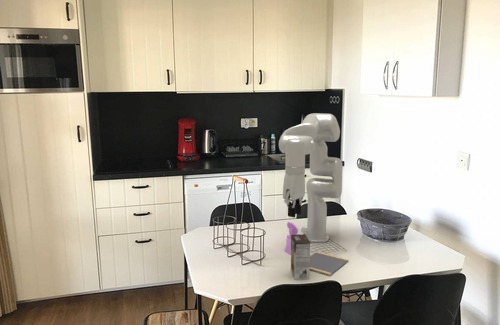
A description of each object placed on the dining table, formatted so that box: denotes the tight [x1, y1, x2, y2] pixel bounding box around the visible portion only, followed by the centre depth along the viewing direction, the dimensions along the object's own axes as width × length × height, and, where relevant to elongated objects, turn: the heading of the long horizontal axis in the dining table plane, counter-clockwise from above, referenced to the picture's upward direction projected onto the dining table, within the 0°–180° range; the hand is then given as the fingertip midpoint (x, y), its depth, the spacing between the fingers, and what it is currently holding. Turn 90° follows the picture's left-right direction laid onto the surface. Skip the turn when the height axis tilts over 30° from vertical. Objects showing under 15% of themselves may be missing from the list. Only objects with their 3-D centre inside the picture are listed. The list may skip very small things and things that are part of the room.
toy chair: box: [283, 221, 301, 256], centre depth 201 cm, size 8×9×15 cm
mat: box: [309, 250, 349, 277], centre depth 188 cm, size 16×18×1 cm
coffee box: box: [290, 233, 311, 280], centre depth 177 cm, size 9×6×16 cm
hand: (294, 214), depth 169 cm, fingers open, 3 cm apart
